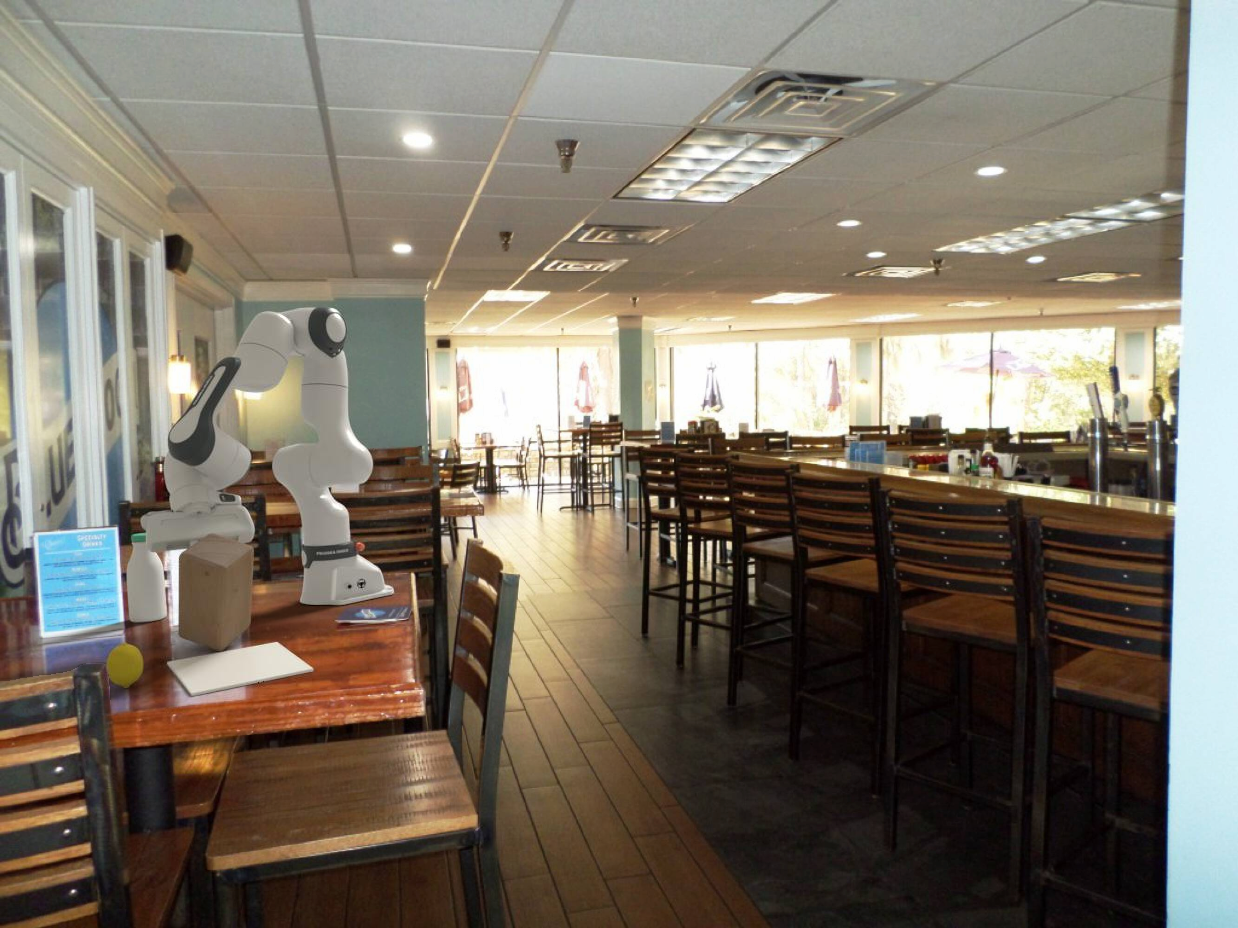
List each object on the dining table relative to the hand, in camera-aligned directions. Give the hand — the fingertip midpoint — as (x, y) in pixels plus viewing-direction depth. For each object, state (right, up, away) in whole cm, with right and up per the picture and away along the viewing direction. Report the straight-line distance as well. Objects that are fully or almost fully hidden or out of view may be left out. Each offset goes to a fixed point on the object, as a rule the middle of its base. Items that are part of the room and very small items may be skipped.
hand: (207, 560), depth 175 cm
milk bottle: (-27, -17, +27) cm, 42 cm away
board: (+13, -18, -15) cm, 27 cm away
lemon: (-2, -20, -24) cm, 31 cm away
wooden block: (+1, -15, +1) cm, 15 cm away
